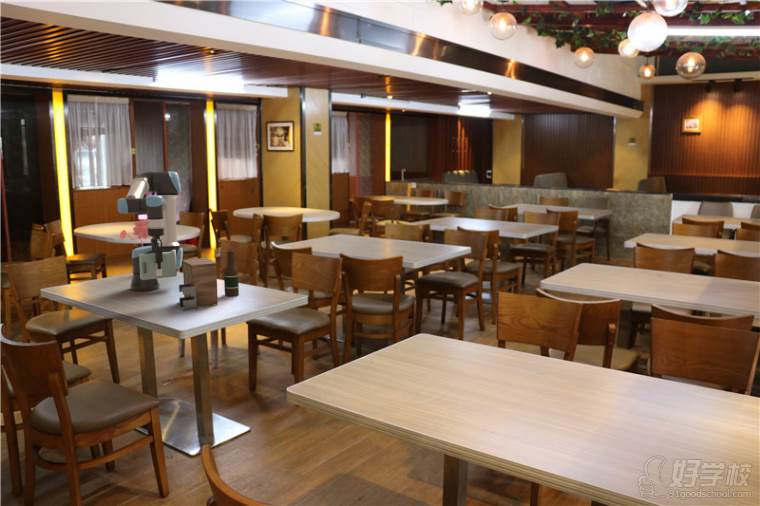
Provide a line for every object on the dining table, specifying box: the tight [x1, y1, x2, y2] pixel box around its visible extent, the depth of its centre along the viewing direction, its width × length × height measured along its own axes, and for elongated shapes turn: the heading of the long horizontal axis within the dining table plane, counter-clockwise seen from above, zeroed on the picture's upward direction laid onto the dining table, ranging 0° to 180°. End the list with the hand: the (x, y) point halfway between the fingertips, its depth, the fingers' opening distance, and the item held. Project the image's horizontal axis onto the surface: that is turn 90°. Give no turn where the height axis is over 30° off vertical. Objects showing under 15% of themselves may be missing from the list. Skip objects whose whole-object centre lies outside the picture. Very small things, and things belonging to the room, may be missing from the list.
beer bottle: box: [223, 250, 240, 298], centre depth 342 cm, size 8×8×24 cm
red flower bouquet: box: [119, 218, 152, 274], centre depth 389 cm, size 15×26×35 cm, turn 130°
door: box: [139, 250, 178, 280], centre depth 315 cm, size 5×17×13 cm, turn 122°
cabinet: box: [182, 257, 219, 308], centre depth 326 cm, size 18×13×21 cm
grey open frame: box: [178, 283, 197, 312], centre depth 314 cm, size 8×6×12 cm
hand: (158, 274), depth 316 cm, fingers closed on door, 4 cm apart
